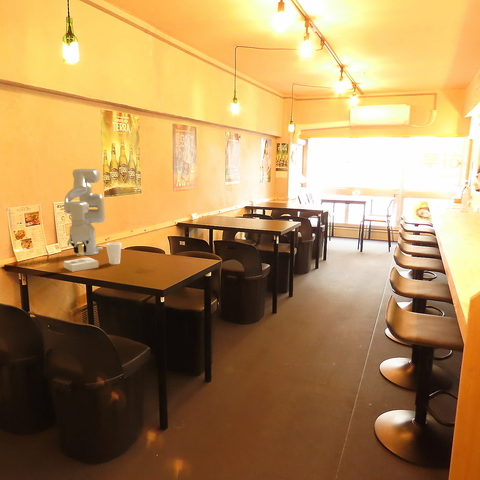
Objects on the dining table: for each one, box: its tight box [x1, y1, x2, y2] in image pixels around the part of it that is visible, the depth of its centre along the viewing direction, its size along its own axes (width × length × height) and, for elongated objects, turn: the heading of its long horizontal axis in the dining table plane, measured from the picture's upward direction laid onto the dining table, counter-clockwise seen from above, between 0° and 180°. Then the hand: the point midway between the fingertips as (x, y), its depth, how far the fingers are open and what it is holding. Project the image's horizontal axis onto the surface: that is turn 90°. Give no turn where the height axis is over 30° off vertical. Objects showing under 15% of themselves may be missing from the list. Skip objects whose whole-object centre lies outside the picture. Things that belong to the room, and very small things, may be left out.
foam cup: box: [105, 241, 122, 265], centre depth 260 cm, size 10×9×13 cm
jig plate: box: [63, 256, 100, 272], centre depth 251 cm, size 16×14×4 cm
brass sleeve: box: [76, 242, 85, 257], centre depth 249 cm, size 4×4×7 cm
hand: (80, 252), depth 249 cm, fingers closed on brass sleeve, 4 cm apart
